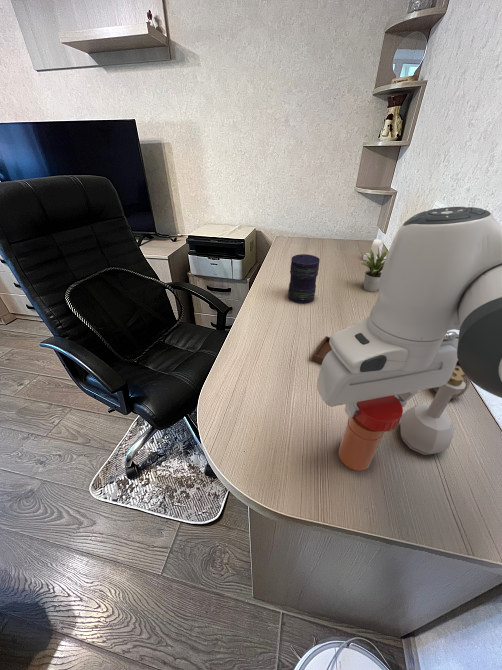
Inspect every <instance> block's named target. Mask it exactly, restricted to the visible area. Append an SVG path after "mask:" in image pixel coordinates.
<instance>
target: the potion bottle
mask: <svg viewBox="0 0 502 670" xmlns="http://www.w3.org/2000/svg"><path fill="white" fill-rule="evenodd" d="M464 377H465V374H464V372H463V371H462V369H461V368H460V367H455V368H454V371H453V373H452V375H451V377H450V379H449V381H448V382H446V383H445V384H444V385H442V386H440V387H439V390H438V392H437V393H436V392H435V395H434V397H433V399H432V401H431V402H430V404H428V403H419V404H415V405H414V406H412V407H410V408H407V410H406V411H405V412H404V411H403V413H402V417H401V419H400V438H401V439H402V441H403V442H404V444H406V445H407V447H408V448H409V449H410V450H412V451H415V452H417V453H419V454H421V455H423V456H427V455H435V454H438V453H442V452H444V451H446V450H447V449H449V448H450V445H451V444H452V443H451V442H452V441H453V438H454V432H455V427H454V423H453V421H452V419H451V418H450V416H449V415H448V414H447V412H446V411H445V410H446V408H447V406H448V404H449V403H450V401H451V399H453V398H452V396H453V395H455V394H460V393H461V391H462V390H463V389H464V388H465V386H466V384H465V382H464Z"/></svg>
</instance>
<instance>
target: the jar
mask: <svg viewBox="0 0 502 670" xmlns="http://www.w3.org/2000/svg"><path fill="white" fill-rule="evenodd" d="M384 434H385V432H380V431H375V430H371V429H369V428H367V427H366V426H364V425H362V424H361V423H360V422H359V421H358V420H357V418H356V417H351V418H349V417H348V419H347V421H346V425H345V428H344V431H343V434H342V437H341V442H340V444H339V448H338V452H337V453H338V457H339V459H340V461H341V463H342V464H343V465H345V467H347V468H348V469H350V470H352V471H355V472H357V471H358V472H360V471H361V472H362V471H365V470H367V469H368V468H369V467H370V466H371V463H372V460H373V459H374V456H375V454H376V453H377V450H378V447H379V445H380V443H381V441H382V439H383V437H384Z"/></svg>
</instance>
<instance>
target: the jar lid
mask: <svg viewBox="0 0 502 670" xmlns="http://www.w3.org/2000/svg"><path fill="white" fill-rule="evenodd" d="M357 406H358V407H359V409H360V413H359V415H358V416H355V417H356V418H357V420H358V421H359V422H360V423H361V424H362V425H364V426H366V427H367V428H369V429H371V430H375V431H380V432H384V433H385V432H386V433H387V432H390V431H393V430H394V429H395V428H397V427H398V425H399V423H400V422H401V417H402V414H403V413H404V407H402V405H401V403H400V401H399V400H398V399H397V398H396V397H395V396H394V395H392V396H387V397H381V398H376V399H371V400H365V401H360V402H357Z"/></svg>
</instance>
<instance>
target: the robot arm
mask: <svg viewBox="0 0 502 670" xmlns="http://www.w3.org/2000/svg"><path fill="white" fill-rule="evenodd" d="M385 257H386V260H385V263H384V266H383V270H381V276H380V280H379V284H378V296H377V300H376V302H375V303H374V305H373V306H372V308H371V310H370V313H369V316H367V317H364V318H363V319H362V320H359V321H358V322H355V323H353V324H352V325H349V326H348V327H345V328H343V329H340V330H337V331H336V332H333V333H332V334H331V335H330V336H329V337H330V341H329V344H330V346H331V348H332V349H333V350H331V351H330V352H328V353H327V355H326V356H325V358H324V360H323V362H322V364H320V369H319V371H318V377H317V381H316V389H317V392H318V395H319V396H320V398H321V399H322V401H323V403H324V404H325V405H327V406H328V407H329V408H334V407H338V406H344V405H345V406H344V412H345V414H346V415H347V417H348V418H351V417H355V416H358V415H359V413H360V409H359V407H358V406H357V402H360V401H365V400H371V399H376V398H381V397H387V396H392V395H394V396H395V397H396V398H397V399H398V400H399V401H400V403H401V405H402V408H405V407H406V405H407V403H408V401H410V400H411V399H412V398H413V397H415V396H416V395H417V394H418V393H419V391H424V390H429V389H433V388H435V387H440V386H442V385H444V384H445V383H446V382H448V381H449V379H450V377H451V375H452V373H453V371H454V368H455V366H456V363H457V360H458V362H459V365H460V367H461V369H462V371H463V372H464V374H465V375H466V376H467V377H468V378H469V379H470V382H472V383H473V384H475V386H477V387H479V388H480V389H482V390H483V391H484V392H487V393H488V394H491V395H493V396H495V397H498V398H501V399H502V224H501V223H500V222H499V221H498V220H497V219H496V218H495V217H494V216H493V214H492V212H490V211H489V210H486V209H484V208H481V207H474V206H468V207H466V206H446V207H439V208H431V209H429V210H424V211H420V212H418V213H416V214H414V215H413V216H411V217H409V218H408V219H407V220H406V221H405V222H404V223H402V224H401V226H400V227H399V228H398V229H397V232H396V233H395V235H394V237H393V239H392V241H391V244H390V247H389V248H388V251H387V253H386V256H385ZM452 330H455V331H452ZM456 331H458V333H457V332H456Z"/></svg>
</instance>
